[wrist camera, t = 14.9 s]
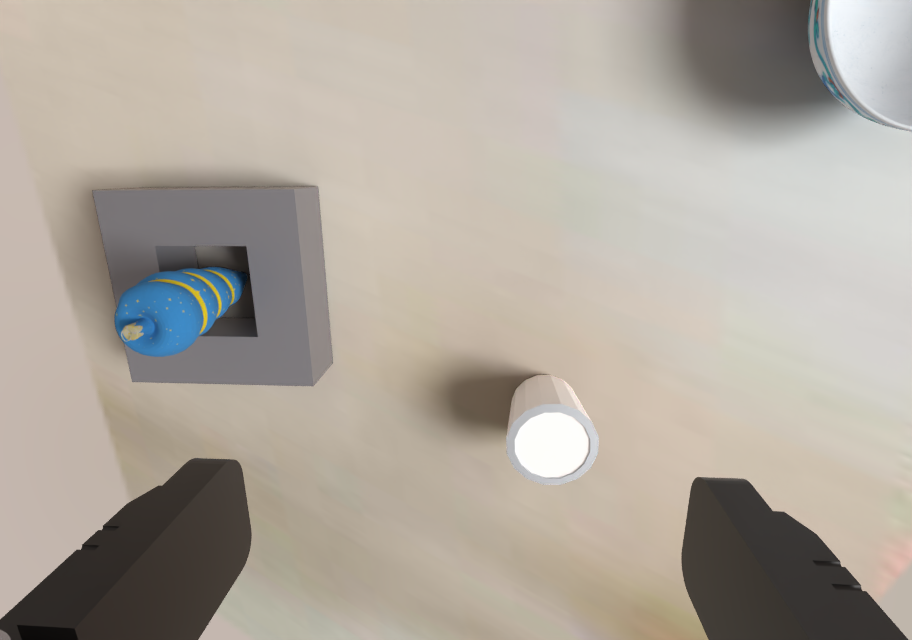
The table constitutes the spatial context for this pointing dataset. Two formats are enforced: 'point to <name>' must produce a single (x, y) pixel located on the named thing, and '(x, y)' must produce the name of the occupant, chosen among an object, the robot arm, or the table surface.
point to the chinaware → (865, 56)
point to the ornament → (175, 308)
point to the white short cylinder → (550, 432)
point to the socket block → (271, 272)
